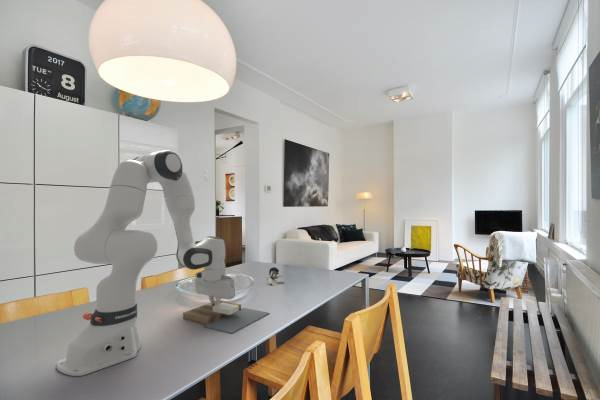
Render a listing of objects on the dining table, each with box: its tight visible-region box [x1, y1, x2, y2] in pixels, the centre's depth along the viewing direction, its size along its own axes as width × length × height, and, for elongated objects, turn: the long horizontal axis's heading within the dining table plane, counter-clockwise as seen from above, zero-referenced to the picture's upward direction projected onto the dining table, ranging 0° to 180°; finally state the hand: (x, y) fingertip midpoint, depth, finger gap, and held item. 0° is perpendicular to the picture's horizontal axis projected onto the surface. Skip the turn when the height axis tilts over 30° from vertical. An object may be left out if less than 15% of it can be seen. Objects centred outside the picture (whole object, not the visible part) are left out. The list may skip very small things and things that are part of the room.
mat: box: [203, 307, 270, 335], centre depth 129 cm, size 24×14×1 cm, turn 151°
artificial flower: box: [265, 266, 281, 287], centre depth 193 cm, size 9×22×10 cm, turn 176°
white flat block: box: [213, 303, 239, 315], centre depth 132 cm, size 6×9×2 cm, turn 61°
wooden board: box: [182, 299, 242, 326], centre depth 136 cm, size 20×14×2 cm
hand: (214, 306), depth 135 cm, fingers closed
